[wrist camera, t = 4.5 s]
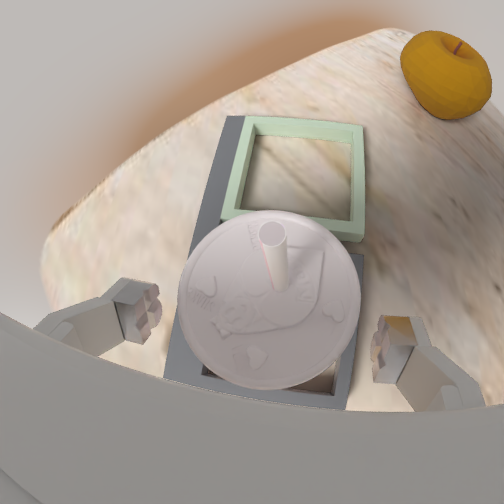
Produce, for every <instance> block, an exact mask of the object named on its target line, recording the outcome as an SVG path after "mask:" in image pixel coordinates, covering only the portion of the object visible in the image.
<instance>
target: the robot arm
mask: <svg viewBox="0 0 504 504" xmlns="http://www.w3.org/2000/svg"><path fill="white" fill-rule="evenodd" d="M159 294H160V293H159V288H158V286H157V285H156V284H154V283H149V282H145V281H140V280H135V279H130V278H125V277H123V278H120V279H119V280H118V281H117V282H116V283H115V284H114V285H113V286H112V287H111V288H110V289H109V290H108V291H107V292H105V293H104V294H103V295H102V296H101V297H100V298H99V297H96V298H93V299H90V300H87V301H84V302H82V303H79V304H76V305H73V306H70V307H67V308H65V309H62V310H59V311H56V312H53V313H50V314H48V315H47V316H46V317H45V318H44V319H43V320H42V321H41V322H40V323H39V324H38V325H37V326H36V327H34V328H33V329H31V328H29V327H27V326H25V325H23V324H21V323H19V322H17V321H15V320H14V319H12V318H10V317H8V316H6V315H4V314H2V313H0V504H504V404H499V405H492V406H486V404H485V401H484V398H483V396H482V393H481V390H480V387H479V384H478V383H477V382H476V381H475V380H474V379H473V378H472V377H470V376H469V375H468V374H467V373H466V372H465V371H463V370H462V369H461V368H460V367H459V366H458V365H456V364H455V363H454V362H453V361H452V360H451V359H449V358H448V357H447V356H446V355H445V354H443V353H442V352H441V351H440V350H439V349H438V348H436V347H432V345H431V342H430V339H429V337H428V334H427V331H426V329H425V326H424V324H423V321H422V319H421V318H420V317H400V316H387V315H381V317H380V318H379V321H378V324H377V325H378V330H379V331H377V332H376V333H375V334H374V336H373V339H372V343H371V350H370V355H371V360H372V361H373V362H374V365H373V367H372V372H373V381H374V383H387V384H396V386H397V388H398V389H399V390H400V392H401V393H402V394H403V396H404V397H405V398H406V400H407V401H408V402H409V404H410V405H411V406H412V408H413V409H414V410H415V412H366V411H346V410H333V409H321V408H312V407H303V406H295V405H287V404H280V403H273V402H267V401H261V400H255V399H249V398H244V397H238V396H233V395H228V394H223V393H219V392H214V391H210V390H205V389H201V388H197V387H193V386H189V385H185V384H181V383H177V382H174V381H170V380H166V379H163V378H159V377H156V376H152V375H149V374H146V373H143V372H140V371H136V370H133V369H130V368H127V367H124V366H121V365H118V364H115V363H113V362H110V361H107V360H104V359H102V358H99V357H98V356H99V355H101V354H103V353H105V352H106V351H108V350H110V349H112V348H113V347H115V346H117V345H118V344H120V343H122V342H124V340H127V341H131V342H134V343H138V344H142V345H143V344H144V343H145V342H146V340H147V339H148V337H149V336H150V335H151V331H150V329H152V328H154V327H156V326H157V325H158V323H159V322H160V319H161V316H162V305H161V303H160V301H159V300H158V299H157V297H158V295H159Z"/></svg>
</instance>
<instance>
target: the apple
mask: <svg viewBox="0 0 504 504" xmlns="http://www.w3.org/2000/svg"><path fill="white" fill-rule="evenodd" d="M400 61H401V68H402V71H403V74H404V76H405V79H406V81H407V83H408V85H409V86H410V88H411V90H412V92H413V93H414V95H415V97H416V99H417V100H418V102H419V103H420V104H421V105H422V106H423V107H424V108H425V109H426V110H427V111H428V112H429V113H431V114H432V115H434V116H435V117H438V118H440V119H449V120H451V119H459V118H464V117H466V116H469V115H471V114H473V113H475V112H477V111H479V110H481V108H482V107H483V106H484V105H485V103H486V102H487V101H488V100H489V98H490V97H491V93H492V79H491V75H490V72H489V69H488V66H487V63H486V61H485V60H484V59H483V58H482V56H481V55H480V54H479V53H478V52H477V51H476V50H475V49H473V48H472V47H471V46H470V45H469V44H467V43H466V42H464V41H463V40H461V39H460V38H457V37H455V36H453V35H450V34H447V33H444V32H441V31H425V32H421V33H419V34H417V35H415V36H414V37H413V38H412V39H411V40H410V41H409V42H408V43H407V44H406V45H405V46H404V48H403V51H402V53H401V56H400Z"/></svg>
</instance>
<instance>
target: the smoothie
mask: <svg viewBox="0 0 504 504" xmlns="http://www.w3.org/2000/svg"><path fill="white" fill-rule="evenodd" d="M360 305H361V292H360V284H359V279H358V275H357V271H356V269H355V266H354V263H353V261H352V259H351V257H350V255H349V254H348V252H347V251H346V249H345V247H344V246H343V245H342V244H341V242H340V241H339V240H338V239H337V238H336V237H335V236H334V235H333V234H332V233H331V232H330V231H329V230H327V229H326V228H325V227H323V226H322V225H320V224H319V223H317V222H315V221H313V220H311V219H309V218H307V217H305V216H302V215H299V214H296V213H292V212H287V211H279V210H262V211H255V212H250V213H246V214H243V215H239V216H237V217H234V218H232V219H230V220H228V221H226V222H224V223H222V224H221V225H219V226H218V227H216V228H215V229H214V230H212V231H211V232H210V233H209V234H208V235H206V236H205V237H204V238H203V239H202V241H201V242H200V243H199V244H198V245H197V246H196V248H195V249H194V250H193V252H192V254H191V255H190V257H189V258H188V260H187V262H186V264H185V267H184V269H183V272H182V275H181V278H180V282H179V288H178V297H177V308H178V316H179V321H180V325H181V328H182V331H183V334H184V336H185V338H186V341H187V343H188V344H189V346H190V348H191V349H192V351H193V352H194V354H195V355H196V356H197V358H198V359H199V360H200V361H201V362H202V363H203V364H204V365H205V366H206V367H207V368H208V369H209V370H211V371H212V372H213V373H215V374H216V375H218V376H219V377H221V378H223V379H225V380H227V381H229V382H231V383H233V384H236V385H239V386H242V387H246V388H251V389H258V390H277V389H284V388H289V387H293V386H296V385H299V384H302V383H304V382H307V381H309V380H311V379H312V378H314V377H316V376H318V375H319V374H321V373H322V372H324V371H325V370H326V369H327V368H328V367H330V366H331V365H332V364H333V363H334V362H335V361H336V360H337V359H338V358H339V356H340V355H341V354H342V353H343V351H344V350H345V348H346V347H347V345H348V344H349V342H350V340H351V338H352V336H353V334H354V331H355V328H356V326H357V322H358V318H359V313H360Z"/></svg>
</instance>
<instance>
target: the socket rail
mask: <svg viewBox="0 0 504 504" xmlns="http://www.w3.org/2000/svg"><path fill="white" fill-rule="evenodd" d="M256 135H271V136H286V137H299V138H310V139H320V140H329V141H337V142H345V143H351V205H350V221H343V220H335V219H327V218H318V217H309V216H305V217H307V218H309V219H311V220H313V221H315V222H317V223H319V224H320V225H322V226H323V227H325V228H326V229H327V230H329V231H330V232H331V233H332V234H333V235H334V236H335V237H336V238H337V239H338V240H341V241H349V242H357V243H360V242H361V240H362V238H363V236H364V235H365V165H364V142H363V126H360V125H353V124H346V123H338V122H329V121H320V120H309V119H297V118H282V117H263V116H227V118H226V121H225V124H224V127H223V130H222V134H221V137H220V140H219V144H218V147H217V150H216V154H215V157H214V160H213V164H212V167H211V171H210V174H209V178H208V182H207V185H206V189H205V192H204V196H203V200H202V204H201V207H200V211H199V215H198V219H197V223H196V227H195V230H194V234H193V238H192V243H191V247H190V251H189V255H188V258H189V257H190V255H191V254H192V252H193V250H194V249H195V248H196V246H197V245H198V244H199V243H200V242H201V241H202V239H203V238H204V237H205V236H206V235H208V234H209V233H210V232H211V231H212V230H214V229H215V228H216V227H218V226H219V225H221V224H222V223H224V222H226V221H228V220H230V219H232V218H234V217H237V216H239V215H243V214H246V213H250V212H255V211H252V210H241V209H240V205H241V200H242V196H243V191H244V186H245V182H246V177H247V172H248V168H249V163H250V159H251V154H252V149H253V145H254V140H255V136H256ZM348 254H349V255H350V257H351V259H352V261H353V263H354V266H355V269H356V271H357V275H358V279H359V284H360V292H361V290H362V277H363V260H364V255H360V254H352V253H348ZM187 260H188V259H187ZM358 322H359V318H358ZM358 322H357V326H356V328H355V331H354V334H353V336H352V338H351V340H350V342H349V344H348V345H347V347H346V348H345V350H344V351H343V353H342V354H341V355H340V356H339V358H338V359H337V361H336V368H335V374H334V380H333V386H332V391H331V393H324V392H315V391H306V390H298V389H290V388H284V389H277V390H258V389H251V388H246V387H242V386H239V385H236V384H233V383H231V382H229V381H227V380H225V379H223V378H221V377H219V376H216V375H211V374H208V368H207V367H206V366H205V365H204V364H203V363H202V362H201V361H200V360H199V359H198V358H197V356H196V355H195V354H194V352H193V351H192V349H191V348H190V346H189V344H188V343H187V341H186V338H185V336H184V334H183V331H182V328H181V325H180V321H179V316H178V308H176V313H175V318H174V323H173V328H172V333H171V338H170V343H169V348H168V354H167V359H166V365H165V370H164V376H163V378H165V379H169V380H173V381H176V382H180V383H184V384H188V385H192V386H196V387H200V388H204V389H208V390H212V391H217V392H221V393H226V394H231V395H236V396H241V397H246V398H252V399H258V400H264V401H270V402H276V403H283V404H290V405H298V406H306V407H316V408H326V409H338V410H345V408H346V403H347V398H348V392H349V386H350V380H351V374H352V368H353V361H354V354H355V347H356V339H357V331H358Z"/></svg>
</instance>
